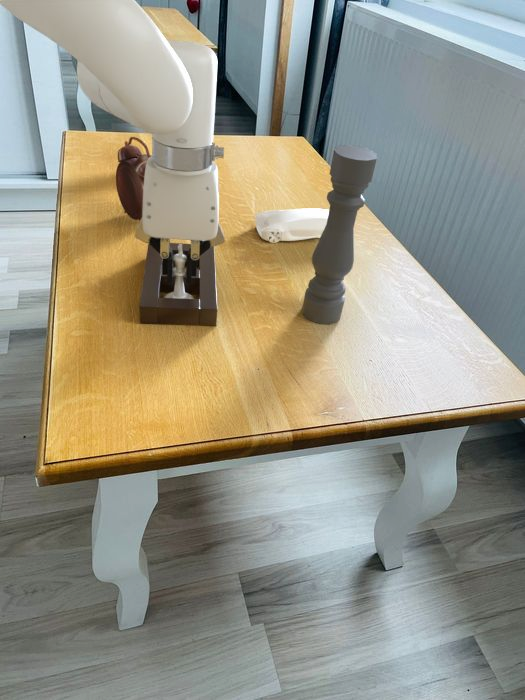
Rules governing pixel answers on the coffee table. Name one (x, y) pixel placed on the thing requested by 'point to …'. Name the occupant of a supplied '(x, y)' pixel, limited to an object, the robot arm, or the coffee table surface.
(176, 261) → the chess piece
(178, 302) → the socket block
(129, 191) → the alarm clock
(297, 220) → the toy car
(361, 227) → the coffee table surface
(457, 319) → the coffee table surface
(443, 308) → the coffee table surface
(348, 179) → the candle holder
